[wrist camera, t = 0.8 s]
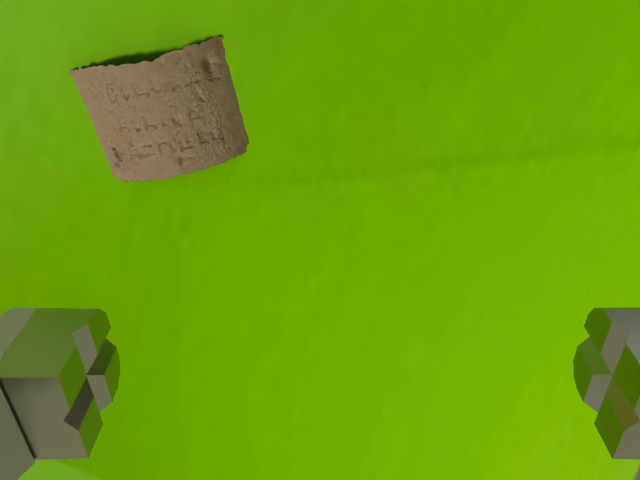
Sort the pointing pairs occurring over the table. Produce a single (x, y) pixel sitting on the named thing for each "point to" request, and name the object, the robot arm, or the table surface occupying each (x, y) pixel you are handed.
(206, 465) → the table surface
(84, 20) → the table surface
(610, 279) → the table surface
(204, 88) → the clay tablet
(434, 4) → the table surface
